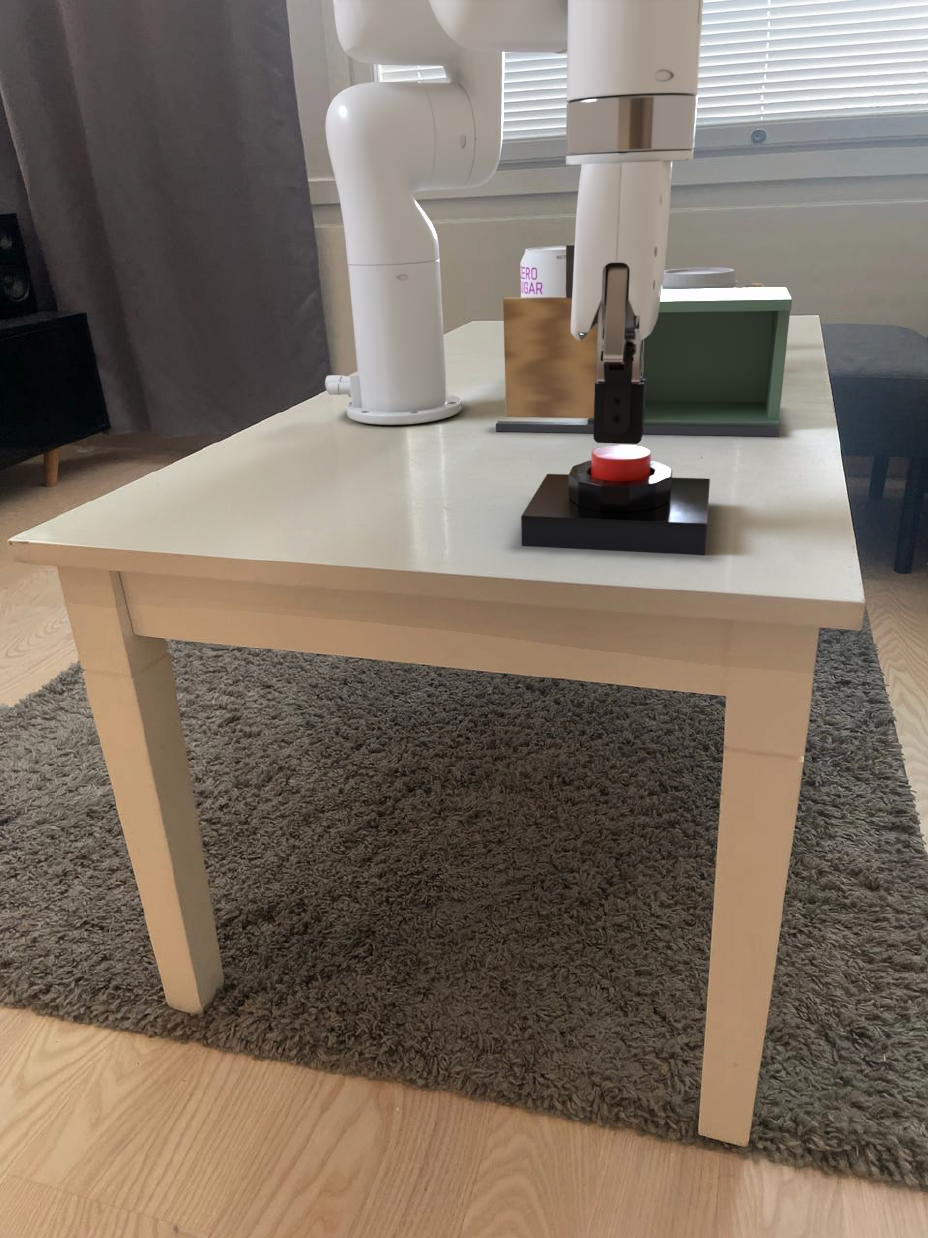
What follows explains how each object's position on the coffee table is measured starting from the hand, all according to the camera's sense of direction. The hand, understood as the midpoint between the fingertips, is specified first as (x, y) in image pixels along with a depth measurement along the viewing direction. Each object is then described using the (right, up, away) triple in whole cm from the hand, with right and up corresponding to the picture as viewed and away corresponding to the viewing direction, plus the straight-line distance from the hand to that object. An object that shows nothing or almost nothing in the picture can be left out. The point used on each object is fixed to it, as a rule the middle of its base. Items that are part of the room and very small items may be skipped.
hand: (618, 439), depth 62 cm
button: (0, -2, +1) cm, 3 cm away
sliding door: (-2, +8, +28) cm, 29 cm away
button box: (0, -6, +2) cm, 6 cm away
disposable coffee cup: (+18, +19, +53) cm, 59 cm away
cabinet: (+7, +8, +31) cm, 33 cm away
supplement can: (+1, +20, +58) cm, 62 cm away
